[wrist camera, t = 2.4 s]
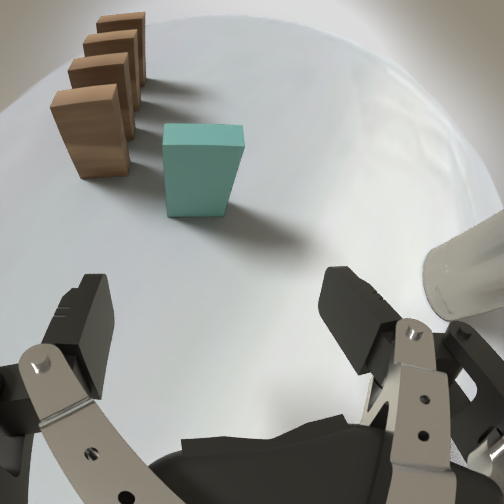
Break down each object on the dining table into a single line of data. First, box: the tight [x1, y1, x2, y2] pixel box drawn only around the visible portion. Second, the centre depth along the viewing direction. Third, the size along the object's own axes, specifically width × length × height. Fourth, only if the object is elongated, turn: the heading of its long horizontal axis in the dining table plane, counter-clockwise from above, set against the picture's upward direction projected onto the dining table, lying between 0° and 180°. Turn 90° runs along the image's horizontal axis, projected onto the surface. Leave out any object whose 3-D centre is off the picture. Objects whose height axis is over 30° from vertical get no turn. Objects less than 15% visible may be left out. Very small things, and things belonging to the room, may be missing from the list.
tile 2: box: [50, 84, 130, 179], centre depth 21 cm, size 2×5×10 cm, turn 95°
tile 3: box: [68, 52, 136, 140], centre depth 23 cm, size 2×5×10 cm, turn 95°
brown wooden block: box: [96, 12, 146, 87], centre depth 25 cm, size 2×5×10 cm, turn 95°
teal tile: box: [162, 123, 245, 217], centre depth 22 cm, size 2×5×10 cm, turn 95°
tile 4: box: [83, 29, 141, 111], centre depth 24 cm, size 2×5×10 cm, turn 96°
